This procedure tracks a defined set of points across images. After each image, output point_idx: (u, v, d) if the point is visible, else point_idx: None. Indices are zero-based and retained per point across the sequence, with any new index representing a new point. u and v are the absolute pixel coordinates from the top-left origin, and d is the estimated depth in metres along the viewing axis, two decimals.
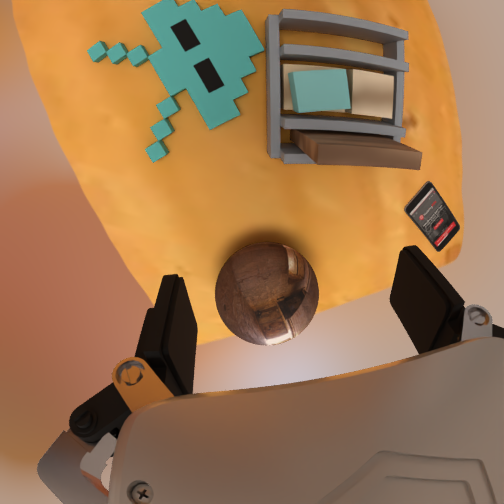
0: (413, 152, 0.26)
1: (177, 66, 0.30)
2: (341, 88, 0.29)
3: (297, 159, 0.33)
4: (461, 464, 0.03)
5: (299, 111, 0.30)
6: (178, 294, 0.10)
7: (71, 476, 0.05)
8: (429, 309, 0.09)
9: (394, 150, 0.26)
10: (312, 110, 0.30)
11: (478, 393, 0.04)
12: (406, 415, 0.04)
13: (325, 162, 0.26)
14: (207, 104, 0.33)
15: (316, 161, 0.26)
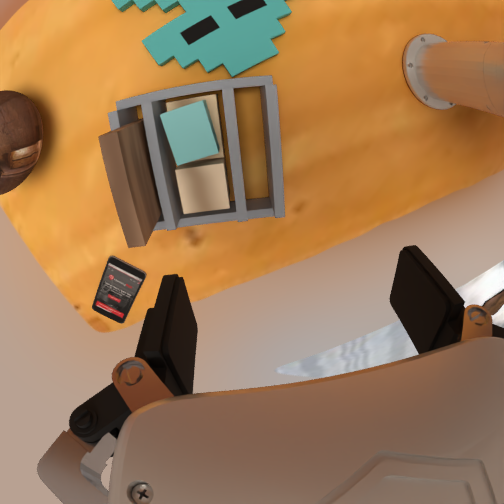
0: (141, 235, 0.28)
1: (210, 2, 0.25)
2: (195, 152, 0.31)
3: (113, 124, 0.28)
4: (461, 464, 0.03)
5: (161, 115, 0.28)
6: (178, 294, 0.10)
7: (71, 476, 0.05)
8: (429, 309, 0.09)
9: (135, 213, 0.27)
10: (165, 127, 0.29)
11: (478, 393, 0.04)
12: (406, 415, 0.04)
13: (102, 144, 0.23)
14: (167, 33, 0.27)
15: (101, 135, 0.23)
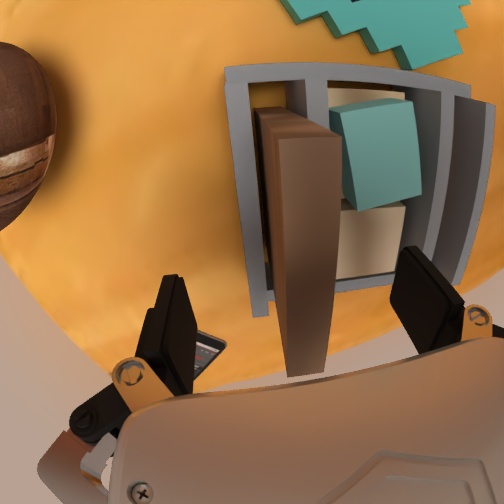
0: (322, 359, 0.14)
1: None
2: (391, 190, 0.17)
3: (237, 111, 0.14)
4: (461, 464, 0.03)
5: (342, 114, 0.14)
6: (178, 294, 0.10)
7: (71, 476, 0.05)
8: (429, 309, 0.09)
9: (328, 328, 0.13)
10: (347, 139, 0.15)
11: (478, 393, 0.04)
12: (406, 415, 0.04)
13: (287, 163, 0.09)
14: None
15: (283, 136, 0.09)
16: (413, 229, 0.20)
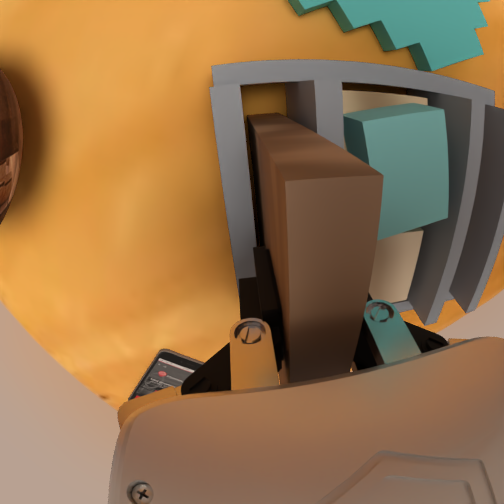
0: None
1: None
2: (416, 214, 0.14)
3: (226, 122, 0.11)
4: (461, 464, 0.03)
5: (365, 122, 0.11)
6: None
7: None
8: None
9: None
10: (370, 154, 0.12)
11: (478, 393, 0.04)
12: (406, 415, 0.04)
13: (298, 218, 0.06)
14: None
15: (292, 174, 0.06)
16: (430, 255, 0.17)
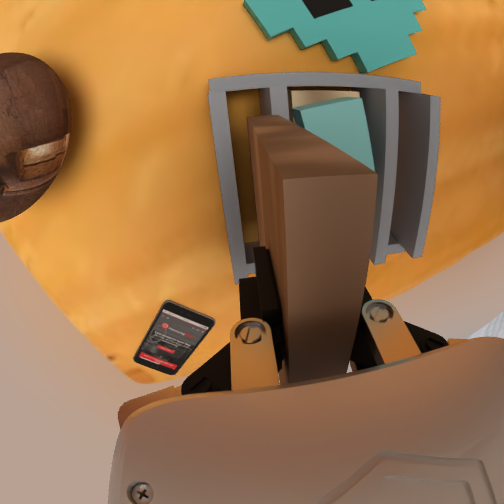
0: None
1: None
2: None
3: (217, 113, 0.18)
4: (461, 464, 0.03)
5: (302, 111, 0.19)
6: None
7: None
8: None
9: None
10: None
11: (478, 393, 0.04)
12: (406, 415, 0.04)
13: (295, 215, 0.06)
14: None
15: (289, 173, 0.06)
16: None
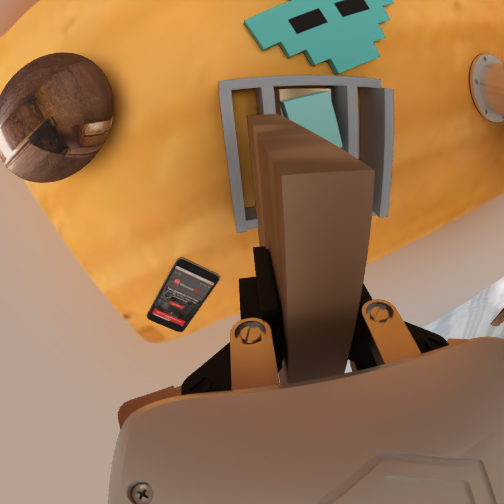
0: None
1: None
2: None
3: (225, 105, 0.26)
4: (461, 464, 0.03)
5: (285, 102, 0.27)
6: None
7: None
8: None
9: None
10: (289, 116, 0.27)
11: (478, 393, 0.04)
12: (406, 415, 0.04)
13: (294, 211, 0.06)
14: (274, 18, 0.25)
15: (288, 169, 0.06)
16: None
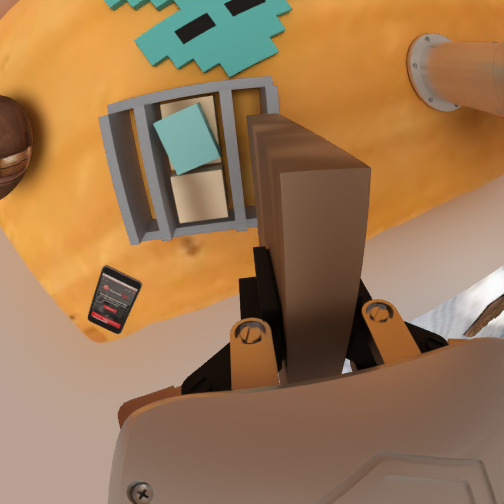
0: None
1: None
2: (195, 158, 0.29)
3: (104, 129, 0.26)
4: (461, 464, 0.03)
5: (154, 123, 0.27)
6: None
7: None
8: None
9: None
10: (160, 136, 0.28)
11: (478, 393, 0.04)
12: (406, 415, 0.04)
13: (292, 207, 0.06)
14: (161, 32, 0.25)
15: (286, 167, 0.06)
16: None
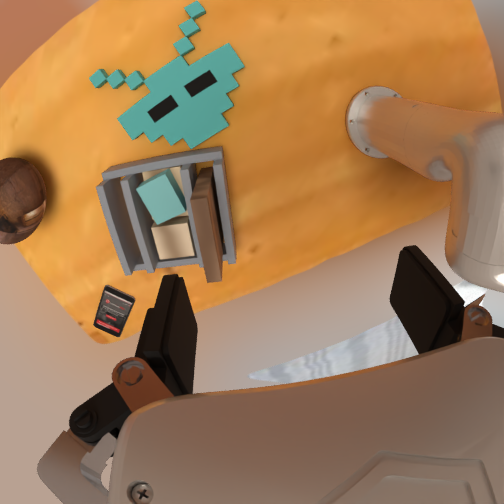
0: (219, 274, 0.39)
1: (169, 81, 0.35)
2: (168, 213, 0.41)
3: (101, 196, 0.38)
4: (461, 464, 0.03)
5: (137, 188, 0.39)
6: (178, 294, 0.10)
7: (71, 476, 0.05)
8: (429, 309, 0.09)
9: (217, 258, 0.37)
10: (142, 198, 0.40)
11: (478, 393, 0.04)
12: (406, 415, 0.04)
13: (193, 206, 0.33)
14: (137, 112, 0.37)
15: (192, 198, 0.33)
16: None
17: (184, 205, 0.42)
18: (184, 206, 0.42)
